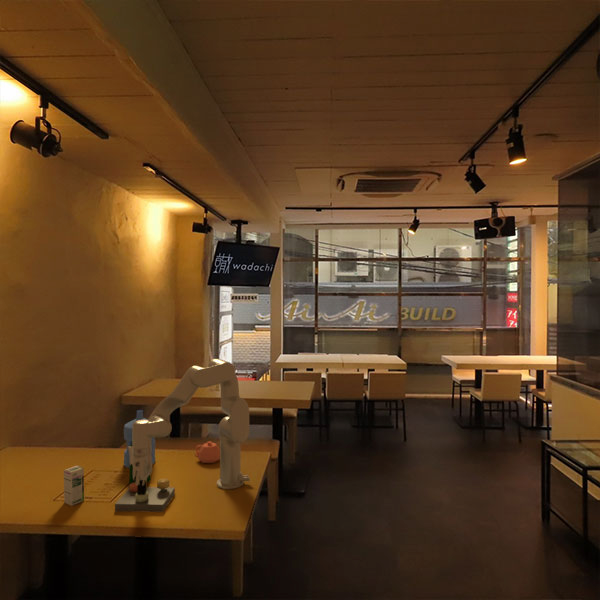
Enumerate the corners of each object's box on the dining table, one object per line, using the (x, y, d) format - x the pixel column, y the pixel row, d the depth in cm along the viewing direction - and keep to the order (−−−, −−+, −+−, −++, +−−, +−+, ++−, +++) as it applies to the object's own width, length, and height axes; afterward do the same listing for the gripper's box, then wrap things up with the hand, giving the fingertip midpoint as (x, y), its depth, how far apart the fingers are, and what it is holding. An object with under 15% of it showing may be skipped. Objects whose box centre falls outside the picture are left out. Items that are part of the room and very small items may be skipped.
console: (174, 494, 198) (174, 487, 198) (163, 511, 182) (163, 504, 182) (130, 493, 198) (130, 486, 198) (114, 511, 182) (114, 503, 182)
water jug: (143, 455, 243) (143, 405, 243) (161, 462, 234) (161, 409, 234) (117, 464, 231) (117, 411, 230) (135, 471, 222) (135, 416, 221)
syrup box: (71, 506, 186) (71, 472, 186) (63, 502, 189) (63, 469, 189) (84, 501, 191) (84, 467, 190) (76, 497, 194) (76, 464, 194)
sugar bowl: (218, 465, 231) (218, 446, 231) (192, 465, 231) (192, 445, 231) (223, 456, 243) (223, 438, 243) (197, 456, 243) (197, 438, 243)
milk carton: (136, 477, 215) (136, 437, 214) (153, 479, 213) (153, 438, 212) (126, 485, 206) (126, 443, 206) (143, 487, 204) (143, 444, 204)
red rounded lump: (144, 492, 197) (144, 481, 197) (139, 498, 192) (139, 486, 192) (132, 492, 197) (132, 481, 197) (127, 498, 192) (127, 486, 192)
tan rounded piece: (170, 489, 197) (171, 478, 197) (167, 495, 191) (167, 483, 191) (159, 489, 197) (159, 478, 197) (155, 494, 192) (155, 483, 191)
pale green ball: (150, 502, 188) (150, 491, 188) (145, 508, 183) (145, 496, 183) (138, 502, 188) (138, 490, 188) (133, 508, 183) (133, 496, 183)
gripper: (144, 457, 177) (144, 502, 178) (156, 444, 192) (156, 486, 193) (125, 456, 177) (125, 502, 178) (139, 444, 192) (139, 485, 193)
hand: (141, 493), depth 185 cm, fingers closed
